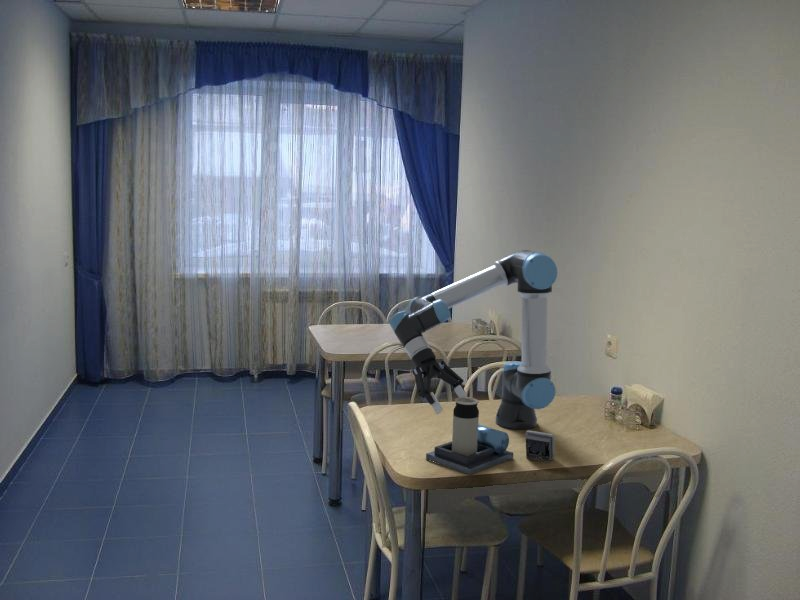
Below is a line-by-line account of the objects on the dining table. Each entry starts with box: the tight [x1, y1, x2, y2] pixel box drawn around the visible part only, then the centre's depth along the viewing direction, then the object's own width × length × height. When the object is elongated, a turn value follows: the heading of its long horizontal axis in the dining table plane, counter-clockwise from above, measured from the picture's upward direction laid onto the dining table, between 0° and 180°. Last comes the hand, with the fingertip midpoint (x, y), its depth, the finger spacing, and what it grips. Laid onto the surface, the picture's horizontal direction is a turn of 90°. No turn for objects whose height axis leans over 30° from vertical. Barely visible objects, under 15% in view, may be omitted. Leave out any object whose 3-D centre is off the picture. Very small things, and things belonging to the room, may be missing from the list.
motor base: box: [425, 423, 514, 476], centre depth 254 cm, size 22×18×9 cm
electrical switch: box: [525, 429, 556, 463], centre depth 256 cm, size 9×5×9 cm, turn 65°
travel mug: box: [451, 396, 480, 456], centre depth 251 cm, size 8×8×18 cm
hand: (454, 407), depth 253 cm, fingers open, 13 cm apart
